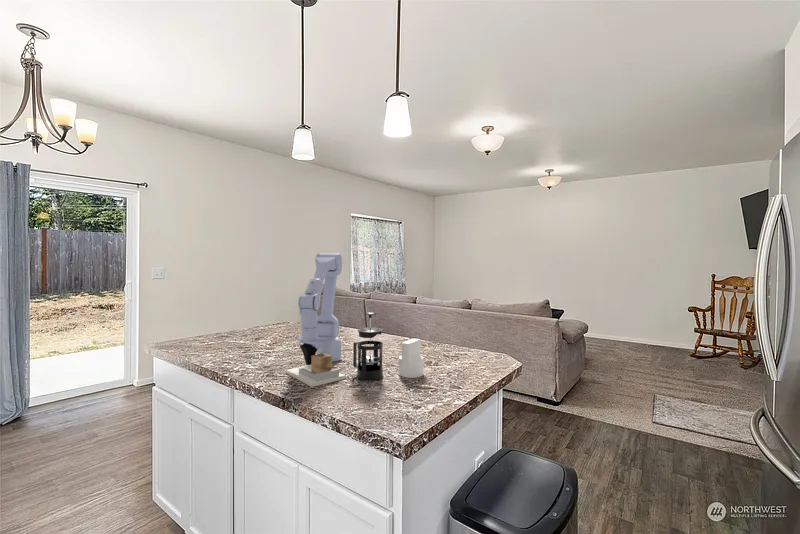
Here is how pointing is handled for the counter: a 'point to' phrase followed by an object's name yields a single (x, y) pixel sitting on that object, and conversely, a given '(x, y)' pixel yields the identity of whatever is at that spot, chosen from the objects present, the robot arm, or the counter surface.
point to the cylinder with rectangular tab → (411, 359)
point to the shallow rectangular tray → (315, 375)
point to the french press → (370, 365)
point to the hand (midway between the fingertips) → (309, 364)
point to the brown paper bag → (321, 363)
